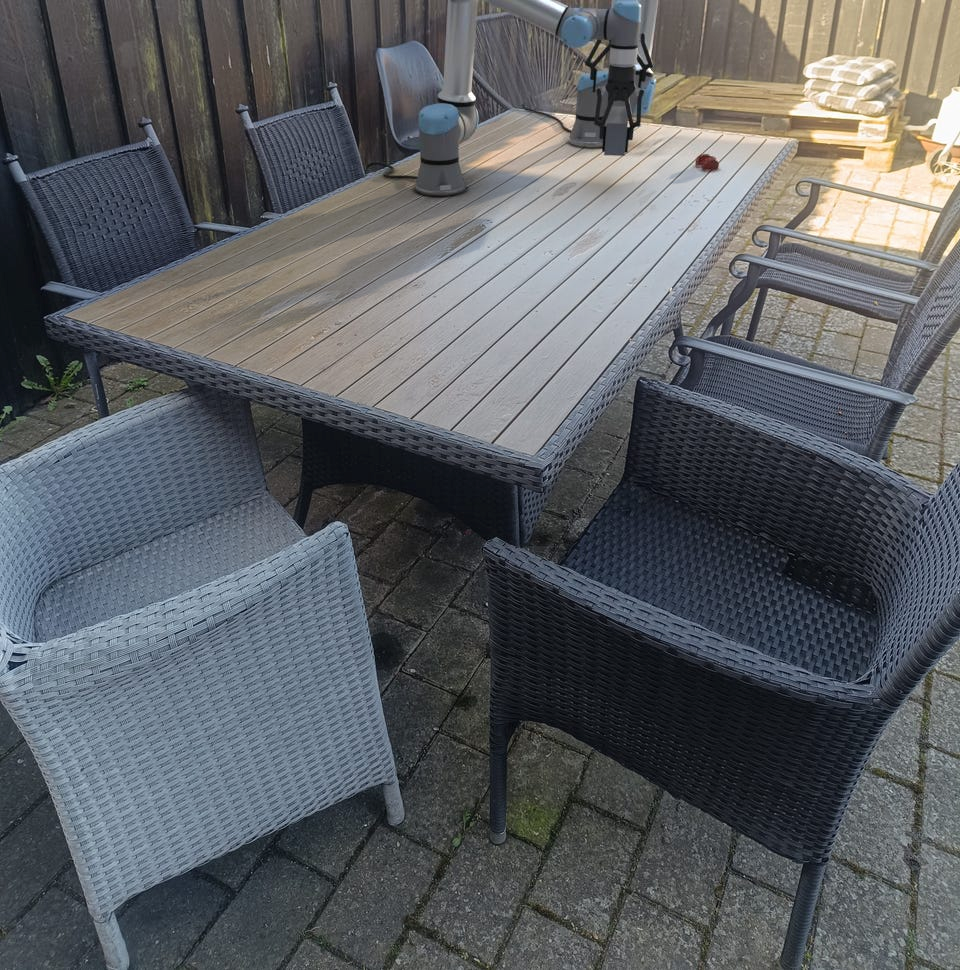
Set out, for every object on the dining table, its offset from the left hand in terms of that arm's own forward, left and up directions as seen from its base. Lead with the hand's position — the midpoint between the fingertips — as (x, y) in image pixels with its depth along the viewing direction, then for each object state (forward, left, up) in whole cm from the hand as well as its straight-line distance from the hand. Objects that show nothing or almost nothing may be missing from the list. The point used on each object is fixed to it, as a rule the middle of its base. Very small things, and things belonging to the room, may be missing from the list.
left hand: (614, 150), depth 248 cm
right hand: (-11, +17, +12) cm, 24 cm away
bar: (-4, +7, 0) cm, 8 cm away
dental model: (+10, +43, -12) cm, 46 cm away
